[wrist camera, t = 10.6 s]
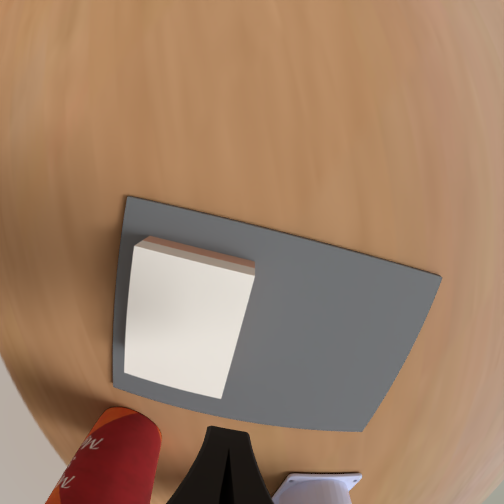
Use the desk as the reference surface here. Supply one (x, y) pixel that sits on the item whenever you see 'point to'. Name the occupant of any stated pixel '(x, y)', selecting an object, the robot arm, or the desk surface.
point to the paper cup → (112, 462)
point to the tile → (185, 314)
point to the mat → (289, 322)
